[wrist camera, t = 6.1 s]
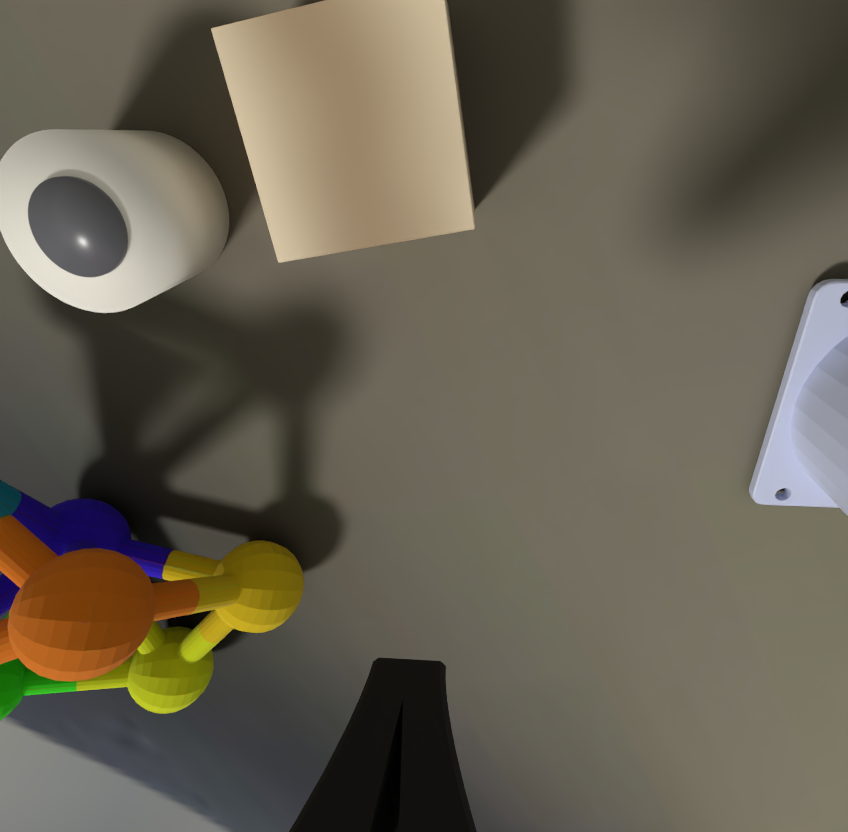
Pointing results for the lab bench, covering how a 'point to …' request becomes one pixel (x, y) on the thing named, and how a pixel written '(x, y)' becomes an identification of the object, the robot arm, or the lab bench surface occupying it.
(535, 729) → the lab bench surface
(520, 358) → the lab bench surface
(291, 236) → the beech block
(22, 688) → the molecular model
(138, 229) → the offwhite stopper
